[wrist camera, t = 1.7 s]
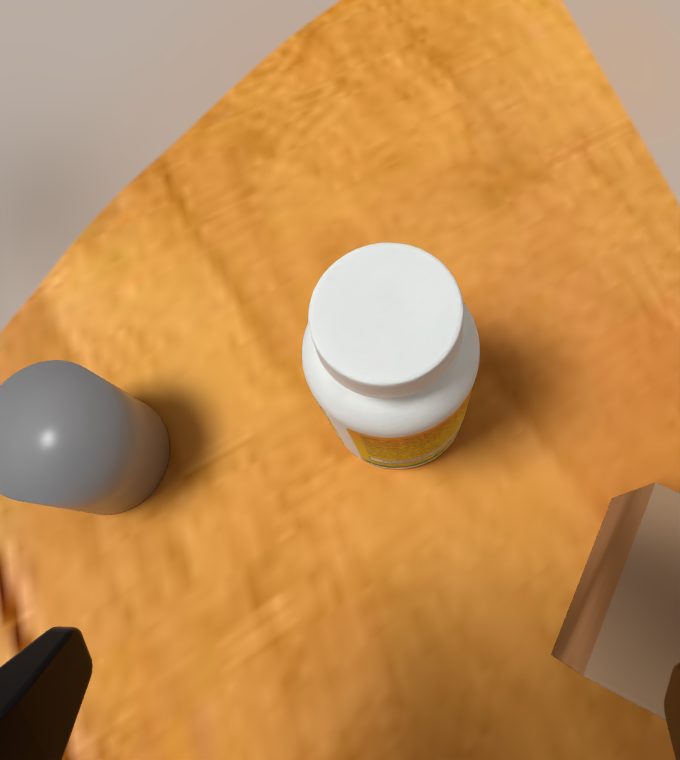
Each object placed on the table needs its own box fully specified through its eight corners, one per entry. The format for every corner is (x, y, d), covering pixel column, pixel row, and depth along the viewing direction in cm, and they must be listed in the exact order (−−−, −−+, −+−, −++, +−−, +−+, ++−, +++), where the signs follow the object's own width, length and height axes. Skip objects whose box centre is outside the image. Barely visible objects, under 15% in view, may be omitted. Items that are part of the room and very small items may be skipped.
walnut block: (666, 715, 20) (732, 756, 16) (550, 654, 21) (583, 676, 17) (723, 549, 21) (798, 544, 17) (611, 499, 22) (655, 482, 18)
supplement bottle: (306, 415, 25) (237, 325, 15) (389, 321, 25) (369, 182, 16) (407, 500, 23) (397, 456, 14) (492, 397, 24) (535, 290, 15)
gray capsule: (100, 540, 24) (22, 533, 19) (37, 453, 26) (-50, 427, 21) (193, 455, 25) (139, 429, 20) (125, 375, 26) (60, 333, 22)
